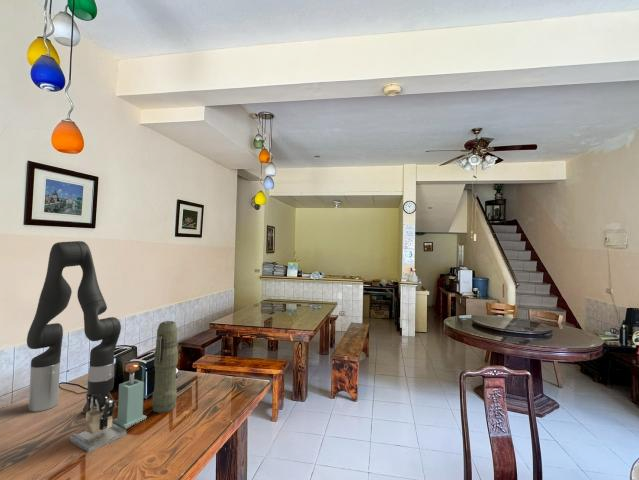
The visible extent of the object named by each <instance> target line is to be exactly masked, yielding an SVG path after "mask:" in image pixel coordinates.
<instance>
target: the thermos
mask: <svg viewBox="0 0 639 480" xmlns="http://www.w3.org/2000/svg"><path fill="white" fill-rule="evenodd" d="M153 357H154V363H153V367H154V390H153V392H152V399H151V400H152V402H151V403H152V412H153V411H154V413H155V412H157V413H156V414H163V413H169V412H172V411H174V409H176V407H177V402H176V401H177V397H178V396H177V395H178V393H177V392H178V391H177V387H176V386H177V384H176V382H177V381H176V379H177V365H178V361H179V349H178V326H177V323H176V321H172V320H169V321H168V320H167V321H162V322H159V324H158V327H157V330H156V341H155V352H154V356H153Z"/></svg>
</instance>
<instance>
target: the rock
mask: <svg viewBox="0 0 639 480" xmlns="http://www.w3.org/2000/svg"><path fill="white" fill-rule="evenodd" d="M109 396H110V400H113V399H114V398H113V396H112V394H111V392H109ZM90 404H91V403H90ZM116 408H118V405H117V403H116V402H115V404H114V409H116ZM114 409H113V410H114ZM86 412H89V411H88V410H87V402H86V403H85V405H84V406H83V408H82V413H83V414H86Z"/></svg>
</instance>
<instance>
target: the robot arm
mask: <svg viewBox="0 0 639 480" xmlns="http://www.w3.org/2000/svg"><path fill="white" fill-rule="evenodd" d="M93 259H94V258H93V255H92V252H91V249H90V247H89V245H88V243H86V242H85V241H83V240H82V241H80V240H78V241H77V240H75V241H59V242H55V243H54V244H53V245H52V246H51V249H50V251H49V257H48V262H47V269H46V275H45V279H44V282H43V286H42V289H41V291H40V294H39V299H38V303H37V308H36V311H35V315H34V317H33V320H32V322H31V325H30V327H29V330H28V332H27V337H26V344H27V347H28V348H29V349H30V350H38V349H39V350H40V349H45V348H47V349H45V350H44V351H43V352H41V353H40V354H37V355H36V356H34V357H32V358H31V361H30V373H29V374H30V375H29V378H30V379H29V393H28V394H29V396H28V411H29V412H34V413H35V412H42V411H46V410H49V409H52V408H54V407H56V406H57V405H58V404H59V392H60V389H59V388H60V371H61V356H62V347H63V339H64V338H63V337H64V329H63V326H62V324H61V323H59V322H57V323H56V322H55V323H50V322H51V321H52V320H54V319H55V318H56V317H57V316H59V315H60V314H61V313H63V312H64V310H65V309H66V308H67V307H68V305H69V303H70V300H71V297H72V294H73V291H72V288H71V285H70V284H69V282H67V280H66V279H65V277H64V275H63V271H64V269H65V268H69V267H79V266H80V268H81V271H82V277H81V280H80V283H79V286H78V288H77V292H76V293H77V296H76V297H77V299H78V302H79V303H78V304H79V306H80V308H81V310H82V312H83V322H84V323H83V327H84V329H83V331H84V335H85V337H86V339H88V340H89V341H90V342H99V341H101V342H100V343H99V344H97V345H96V346H94V347H93V348H92V349H91V350H90V353H89V365H88V366H89V368H88V373H87V374H88V375H87V393H86V396H85V397H86V403H87V410H88V411H93V410H94V409H97V412H98V413H99V414H100V430H103V429H106V428H107V424H108V417H111V416H112V417H113V414H114V404H115V403H116V400H115V399H114V398H113V400H110V396H109V393H111V391H112V390H113V389H114V387H115V386H114V383H115V364H114V363H115V350H116V346H117V344H118V340H119V338H120V334H121V331H122V324H121V321H120V320H119V319H118V318H117V317H114V316H112V317H110V316H109V317H106V318H100V319H99V316H100V315H102V314H104V313H105V312H106V311H107V310H108V306H107V305H108V304H107V303H106V300H105V299H104V296H103V294H102V291H101V289H100V286H99V282H98V278H97V274H96V268H95V263H94V260H93ZM48 323H49V324H48ZM90 403H91V404H90ZM102 407H105V408H103V409H101V408H102ZM103 411H104V414H103ZM109 411H110V412H109Z"/></svg>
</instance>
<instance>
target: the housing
mask: <svg viewBox="0 0 639 480" xmlns="http://www.w3.org/2000/svg"><path fill="white" fill-rule="evenodd" d="M103 408H105V407H102V408H101V409H103ZM109 412H110V411H109ZM103 414H104V411H103ZM112 423H113V415H112V416H111V417H108V424H107V428H110V427H112ZM107 428H106V429H107ZM84 429H85V431H87V432H89V433H91V434H92V435H94V434H96V433H98V432H101V431H103V430H105V429H103V430H100V414H99V413H98V412H97V409H94V410H93V411H89V412H86V413H85V428H84Z"/></svg>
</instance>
